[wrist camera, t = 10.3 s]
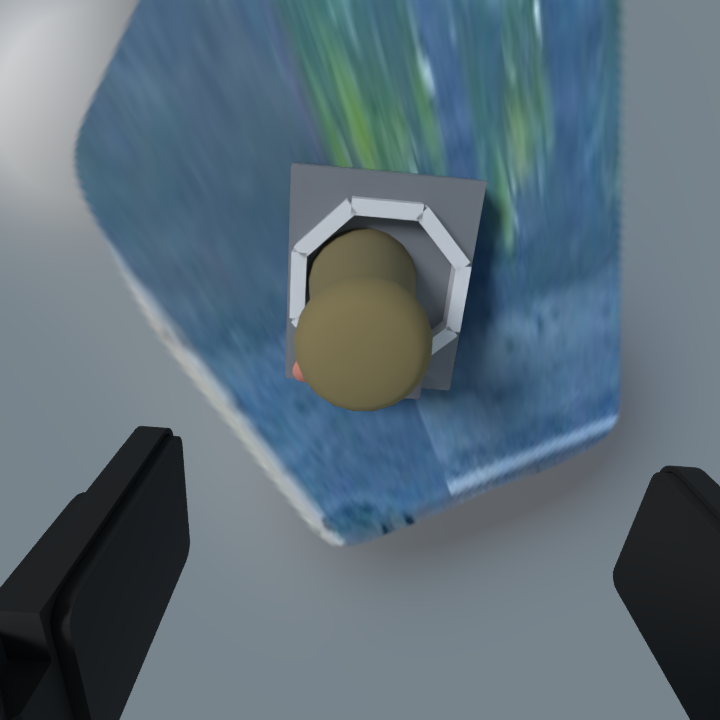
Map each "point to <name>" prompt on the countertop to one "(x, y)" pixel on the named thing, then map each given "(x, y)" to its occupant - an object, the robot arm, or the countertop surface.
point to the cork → (363, 323)
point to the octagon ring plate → (407, 225)
